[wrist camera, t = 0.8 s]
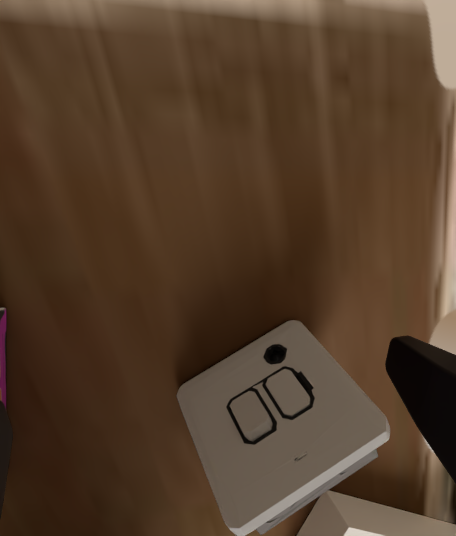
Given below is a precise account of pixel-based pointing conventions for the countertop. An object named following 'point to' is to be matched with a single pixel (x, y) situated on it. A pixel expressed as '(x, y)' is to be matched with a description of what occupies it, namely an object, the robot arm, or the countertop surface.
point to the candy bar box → (3, 355)
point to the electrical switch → (278, 427)
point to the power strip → (367, 519)
